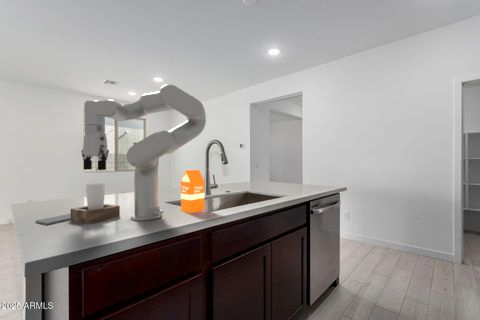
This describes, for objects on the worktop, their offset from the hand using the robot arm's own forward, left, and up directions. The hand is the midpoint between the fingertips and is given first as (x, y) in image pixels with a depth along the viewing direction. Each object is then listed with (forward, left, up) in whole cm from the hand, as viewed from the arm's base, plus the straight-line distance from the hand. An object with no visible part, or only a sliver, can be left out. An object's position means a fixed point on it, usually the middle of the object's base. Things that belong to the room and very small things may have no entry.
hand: (94, 169), depth 100 cm
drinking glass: (0, 0, -21) cm, 21 cm away
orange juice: (-28, -31, -21) cm, 47 cm away
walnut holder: (0, 0, -21) cm, 21 cm away
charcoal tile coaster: (+12, +7, -21) cm, 25 cm away
